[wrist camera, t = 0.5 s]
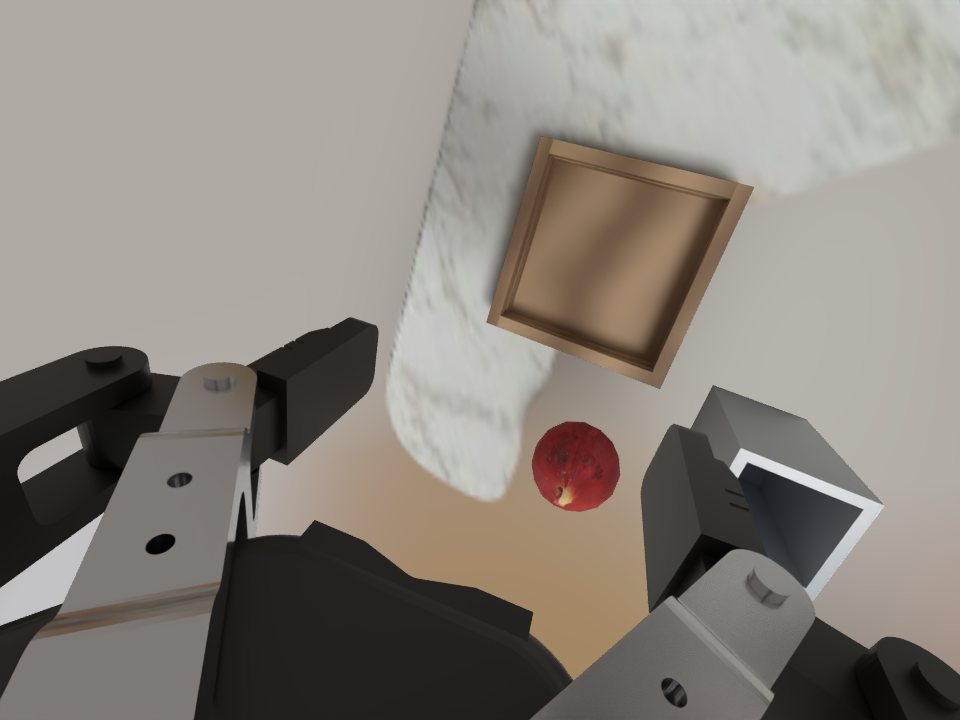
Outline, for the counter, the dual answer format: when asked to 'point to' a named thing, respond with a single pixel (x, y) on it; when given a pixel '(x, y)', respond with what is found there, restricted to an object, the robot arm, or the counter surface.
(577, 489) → the onion
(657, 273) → the tray
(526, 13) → the counter surface
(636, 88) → the counter surface
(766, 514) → the gray square holder
